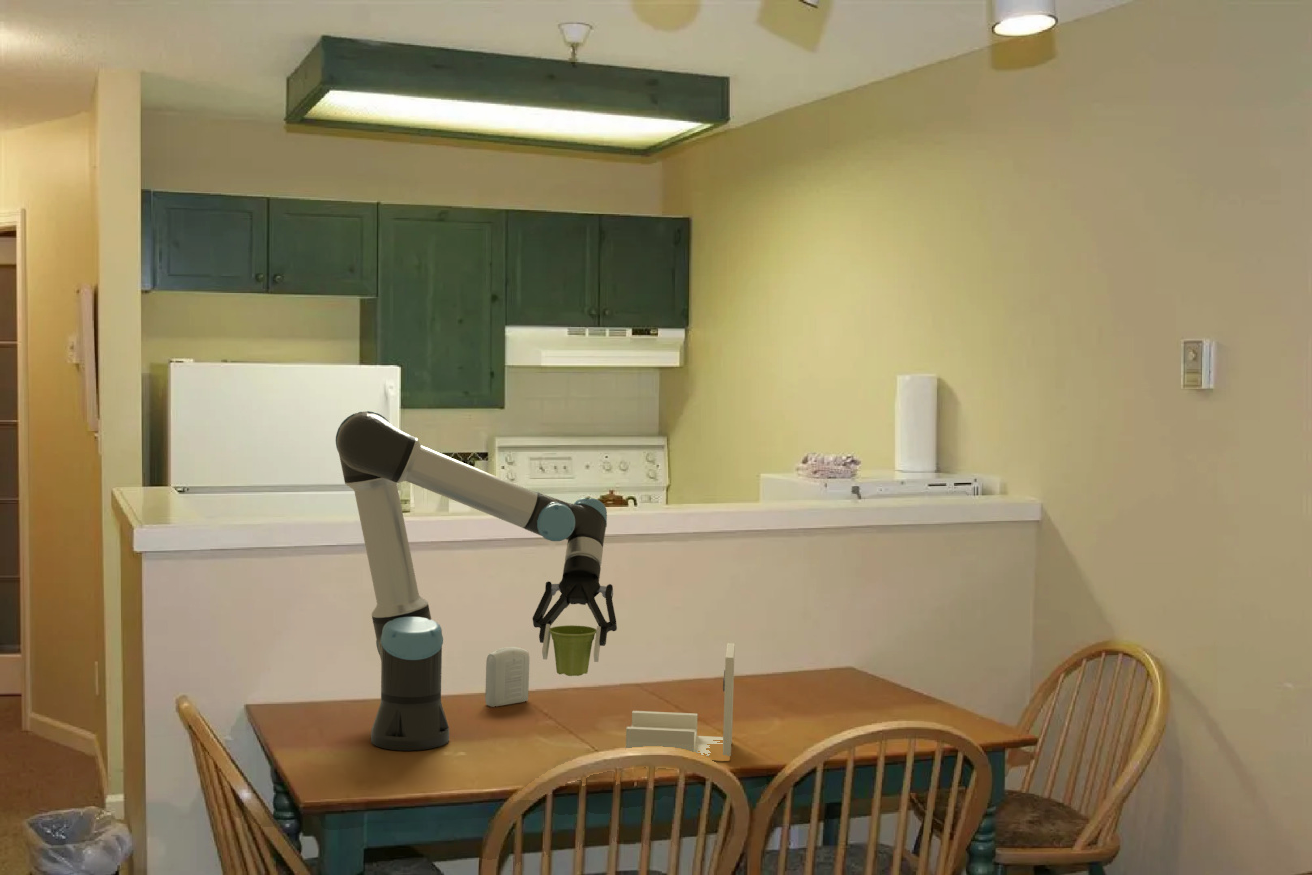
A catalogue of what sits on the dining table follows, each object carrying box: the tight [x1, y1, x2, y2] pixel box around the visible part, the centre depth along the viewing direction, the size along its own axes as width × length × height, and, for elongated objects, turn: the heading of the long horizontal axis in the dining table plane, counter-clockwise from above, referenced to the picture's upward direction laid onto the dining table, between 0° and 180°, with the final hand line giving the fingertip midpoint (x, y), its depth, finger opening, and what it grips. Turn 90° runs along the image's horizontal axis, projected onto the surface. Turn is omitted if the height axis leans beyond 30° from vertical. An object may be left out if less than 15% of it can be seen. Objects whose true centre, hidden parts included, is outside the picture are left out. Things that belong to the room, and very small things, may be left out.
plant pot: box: [549, 624, 597, 677], centre depth 278 cm, size 9×9×9 cm
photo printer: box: [484, 646, 530, 708], centre depth 308 cm, size 10×4×12 cm, turn 134°
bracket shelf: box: [625, 642, 736, 757], centre depth 275 cm, size 14×20×20 cm
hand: (570, 656), depth 275 cm, fingers closed on plant pot, 9 cm apart
